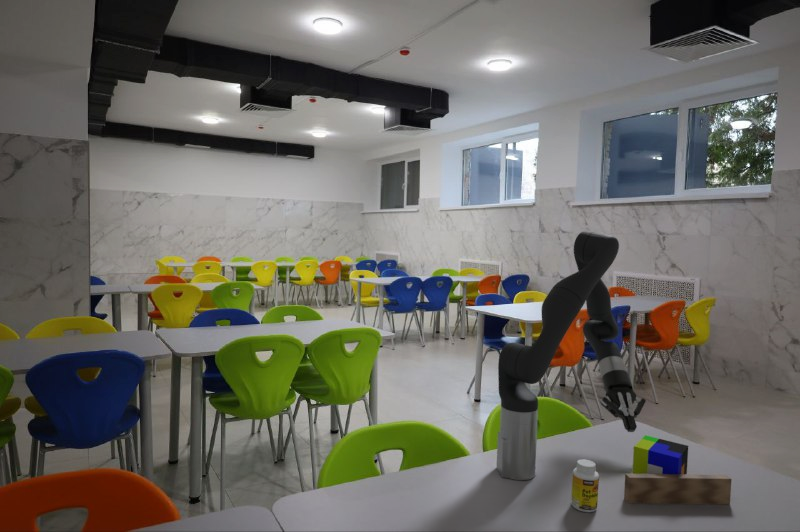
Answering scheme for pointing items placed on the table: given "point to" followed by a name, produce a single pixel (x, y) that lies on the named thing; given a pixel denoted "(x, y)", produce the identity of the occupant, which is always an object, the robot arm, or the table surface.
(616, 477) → the table surface
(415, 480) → the table surface
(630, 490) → the board
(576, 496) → the supplement bottle
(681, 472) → the puzzle toy
